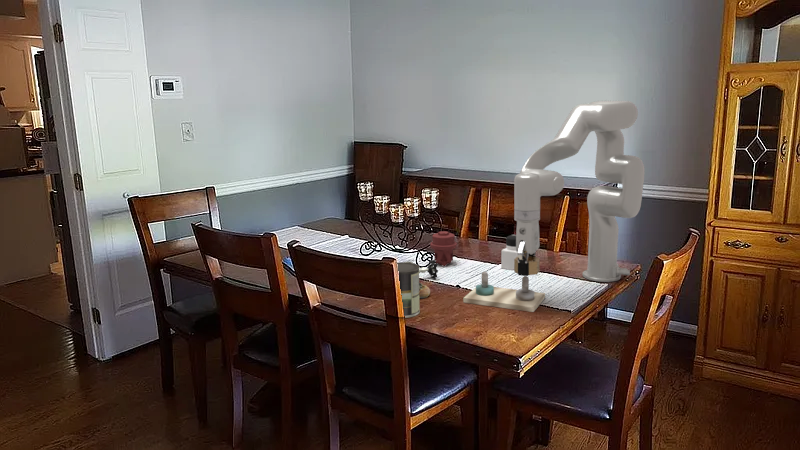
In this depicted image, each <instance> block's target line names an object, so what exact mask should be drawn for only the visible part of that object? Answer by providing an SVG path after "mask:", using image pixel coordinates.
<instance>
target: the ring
mask: <svg viewBox="0 0 800 450" xmlns="http://www.w3.org/2000/svg"><path fill="white" fill-rule="evenodd" d="M535 256H536V255H535ZM535 256H528V263H529V275H528V276H535V275H538V274H539V273H540V261H541V260H540V258H539V257H535ZM525 258H526V256H525ZM513 271H514V273H516V274H517V275H518V257H516V258H515V259H514V270H513Z"/></svg>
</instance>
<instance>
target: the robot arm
mask: <svg viewBox="0 0 800 450" xmlns="http://www.w3.org/2000/svg"><path fill="white" fill-rule="evenodd" d="M638 113H639V112H638V108H637V106H636V104H635V103H634V102H632V101H630V100H595V101H591V102H589V103H579V104H576V105H575V106H574V107H572V108H571V110H570V112H569V113H568V115H567V116H566V118H565V119H564V121H563V123H562V125H561V127H560V128H559V129H558V132H557V133H556V134H555V136H554V138H553V139H551V140H550V141H548V142H546V143H545V144H543V145H542V146H541V147H539V148H537V150H535V151H533V152H532V154H530V156H529V157H528V158H527V160H526V161H525V163H524V164H523V165H522V168H521V170H520V172H519V173H517V174H516V175H515V176H514V180H513V181H514V184H513V185H514V186H513V187H514V189H513V190H514V193H513V194H514V195H513V196H514V197H513V198H514V204H513V205H514V208H513V209H514V210H513V211H514V212H513V213H514V218H513V219H514V221H516V231H515V232H516V233H515V235H516V252H517V253H518V274H517V275H518V276H522V277H524V276H527V277H528V276H530V275H529V263H528V256H535V257H536V256H537V255H536V254H537V253H536V251H538V249H539V248H540V225H539V221H540V220H541V197H550V196H555V195H558V194H559V193H560V192H562V191H563V189H564V187H565V179H564V176H563V175H562V174H561V173H560V172H558V171H555V170H551V169H550V170H549V169H545V168H547V167H548V166H550V165H552V164H554V163H557V162H559V161H563V160H565V159H569V158H570V157H573V156H575V155H577V154H578V153H579V151H580V150H581V148H582V146H583V145H584V142H586V140H587V137H588V136H589V135H590V133H591V132H594V133H595V136H596V140H597V143H596V152H595V153H596V155H595V164H594V175H595V178H596V180H598V181H599V182H603V183H609V184H617V185H618V184H620V185H622V186H621V187H622V188H621V187H615V186H606V185H598V186H595V187H593V188H591V189H590V190H589V191H588V194H587V197H586V200H587V201H586V203H587V204H586V205H587V209H588V219H589V221H588V222H589V223H588V224H589V225H588V226H589V227H588V228H589V231H588V249H587V251H588V252H587V269H586V270H584V271H582V277H583V278H584V279H587V280H589V281H593V282H594V281H595V282H602V283H611V282H616V281H619V280H620V279H621V278H622V276H630V274H631V270H630V269H628V268H627V267H625V268H624V267H621V266H619V263H618V246H619V244H618V243H619V229H620V228H619V224H618V222H617V219H616V217H617V218H623V219H632V218H635V217H636V216H637V215H638V214H639V213H640V210H641V206H642V200H643V190H644V182H645V181H644V180H645V166H644V162H643V160H642V159H641V158H640V157H638V156H636V155H631V154H630V155H629V154H628V155H627V154H625V153H624V150H625V137H624V134H623V131H622V130H626V129H629V128H630V127H633V125H635V123H636V122H637V119H638V115H639V114H638ZM523 251H526V253H525V252H523ZM523 255H525V256H526V258H525V256H523Z"/></svg>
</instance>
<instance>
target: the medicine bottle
mask: <svg viewBox="0 0 800 450" xmlns="http://www.w3.org/2000/svg"><path fill="white" fill-rule="evenodd" d="M505 239H506V241H505V242H506V245H505V248H503V249H501V252H500V253H501V264H500V266H501V269H502V270H509V271H514V259H515V258H516V257H518V253H517V252H516V234H511V235H508V236H506V237H505ZM523 252H525V253H526V251H523ZM523 256H525V255H523Z"/></svg>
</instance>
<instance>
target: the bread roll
mask: <svg viewBox="0 0 800 450" xmlns="http://www.w3.org/2000/svg"><path fill="white" fill-rule="evenodd" d="M429 295H430V296H431V289H430V287H429V286H427V285H426V284H423V283H421V282H419V299H425V298H429V297H430V296H429ZM428 296H429V297H428Z"/></svg>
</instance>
